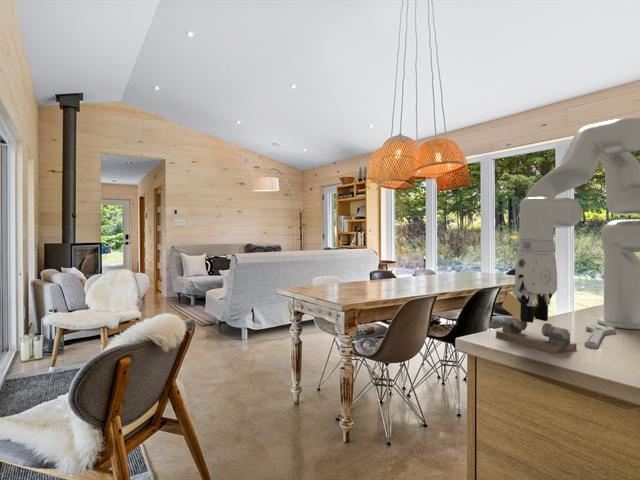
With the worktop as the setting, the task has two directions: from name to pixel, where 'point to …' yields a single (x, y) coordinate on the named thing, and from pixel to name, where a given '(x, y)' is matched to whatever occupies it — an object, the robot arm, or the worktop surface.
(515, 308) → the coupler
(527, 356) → the worktop surface
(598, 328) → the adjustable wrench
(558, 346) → the shaft stand
